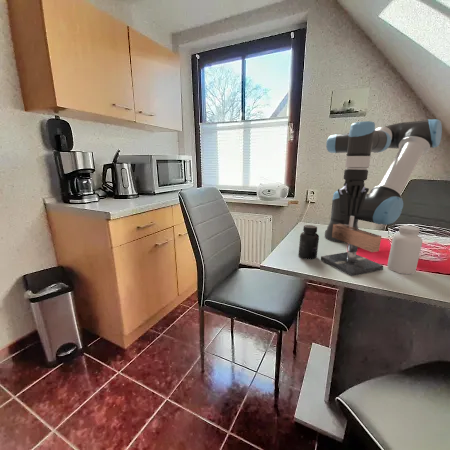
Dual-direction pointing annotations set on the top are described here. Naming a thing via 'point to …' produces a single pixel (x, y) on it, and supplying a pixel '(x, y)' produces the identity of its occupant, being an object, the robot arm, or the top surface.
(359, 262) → the post base
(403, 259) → the pill bottle
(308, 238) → the supplement bottle
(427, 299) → the top surface
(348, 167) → the robot arm
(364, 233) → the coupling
